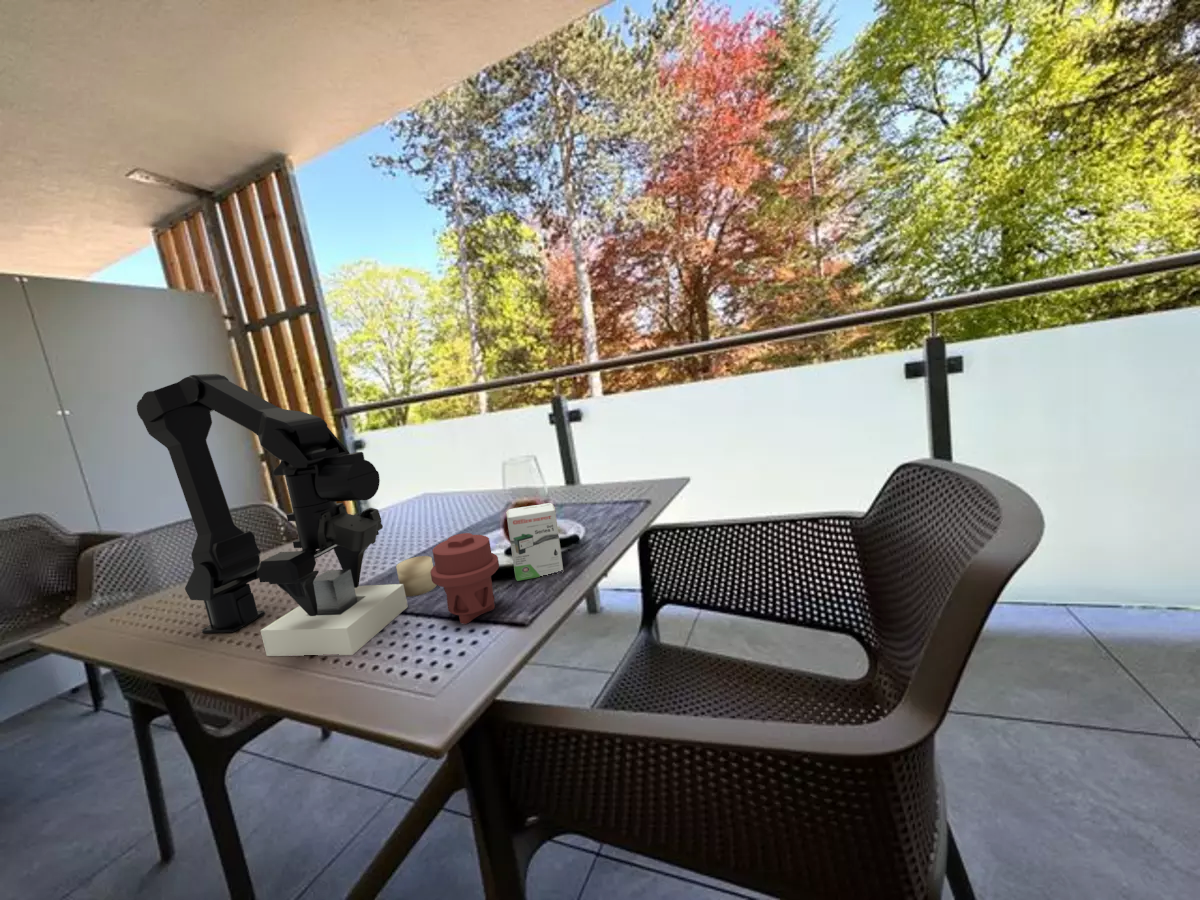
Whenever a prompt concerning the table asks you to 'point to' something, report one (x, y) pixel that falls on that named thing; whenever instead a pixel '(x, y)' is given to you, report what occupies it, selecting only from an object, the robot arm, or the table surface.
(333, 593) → the square bar
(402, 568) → the beige rounded lump
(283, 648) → the socket block
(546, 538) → the ink box
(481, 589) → the mechanical component
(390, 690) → the table surface
